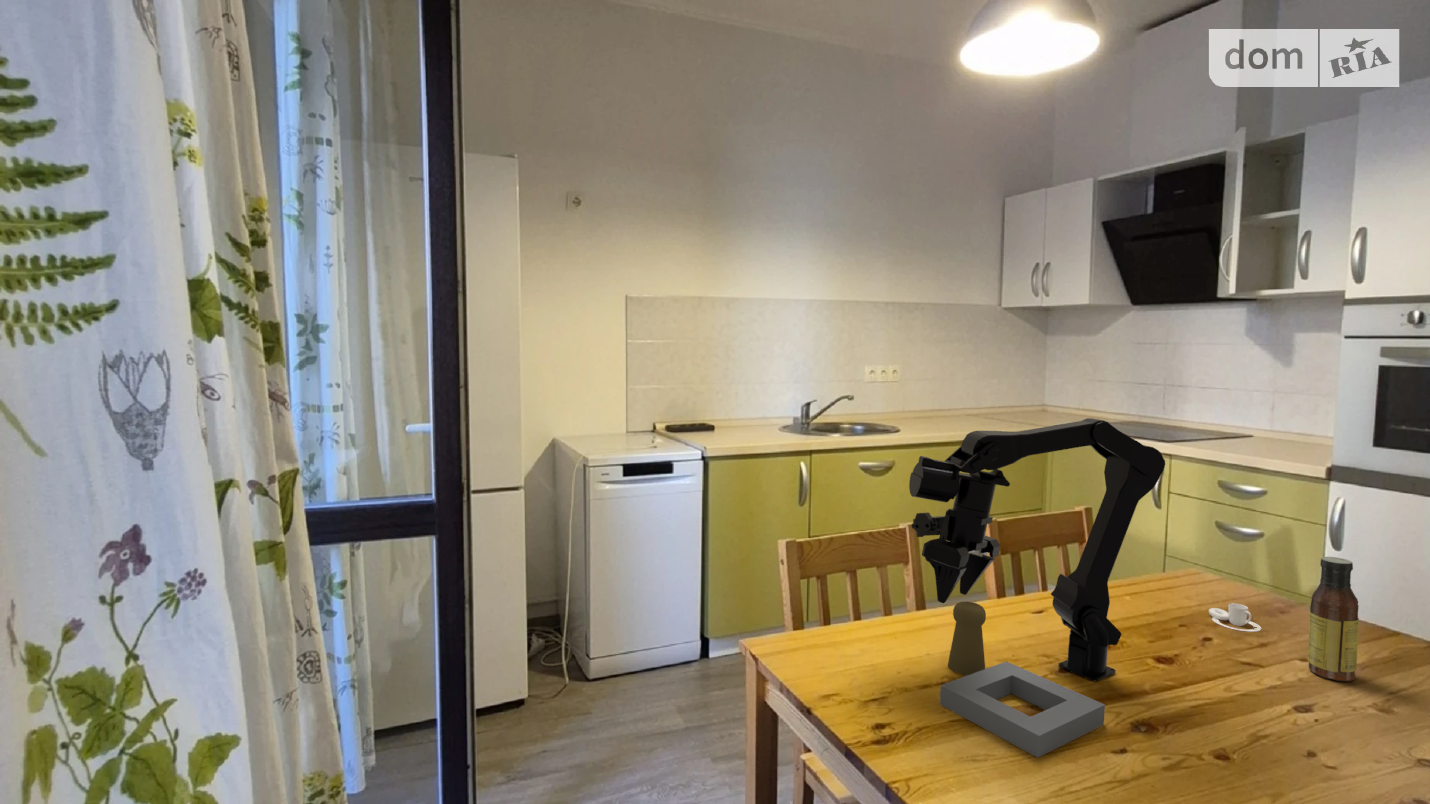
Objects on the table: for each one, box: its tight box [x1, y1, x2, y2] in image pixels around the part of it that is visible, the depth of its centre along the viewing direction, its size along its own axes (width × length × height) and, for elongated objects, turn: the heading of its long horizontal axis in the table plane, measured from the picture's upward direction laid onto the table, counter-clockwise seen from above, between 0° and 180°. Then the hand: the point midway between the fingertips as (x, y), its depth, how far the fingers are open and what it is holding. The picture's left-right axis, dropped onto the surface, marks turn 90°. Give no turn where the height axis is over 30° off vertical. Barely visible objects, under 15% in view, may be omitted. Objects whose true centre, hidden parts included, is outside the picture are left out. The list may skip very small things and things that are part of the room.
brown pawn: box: [947, 601, 987, 676], centre depth 118 cm, size 6×6×11 cm
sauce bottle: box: [1307, 556, 1360, 683], centre depth 118 cm, size 7×6×20 cm
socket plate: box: [939, 661, 1106, 759], centre depth 104 cm, size 16×16×3 cm
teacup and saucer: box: [1208, 602, 1262, 633], centre depth 141 cm, size 9×8×4 cm
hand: (952, 598), depth 117 cm, fingers open, 9 cm apart
